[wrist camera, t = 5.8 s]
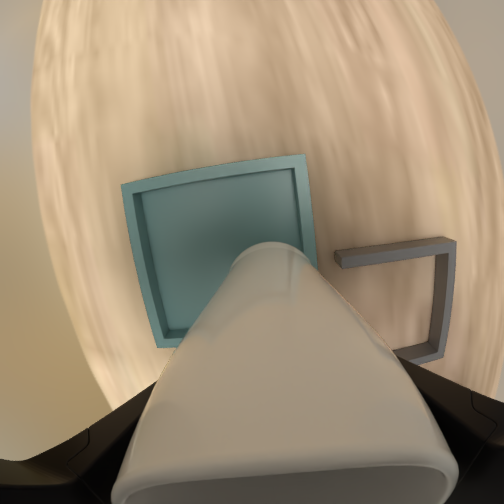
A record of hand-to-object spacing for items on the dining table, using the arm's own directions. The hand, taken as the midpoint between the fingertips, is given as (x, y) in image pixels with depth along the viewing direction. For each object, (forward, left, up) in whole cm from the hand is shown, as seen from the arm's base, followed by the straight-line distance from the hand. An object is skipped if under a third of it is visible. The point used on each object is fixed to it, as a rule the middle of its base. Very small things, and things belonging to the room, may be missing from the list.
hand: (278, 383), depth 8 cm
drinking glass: (0, 0, -10) cm, 10 cm away
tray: (+1, +3, -13) cm, 14 cm away
